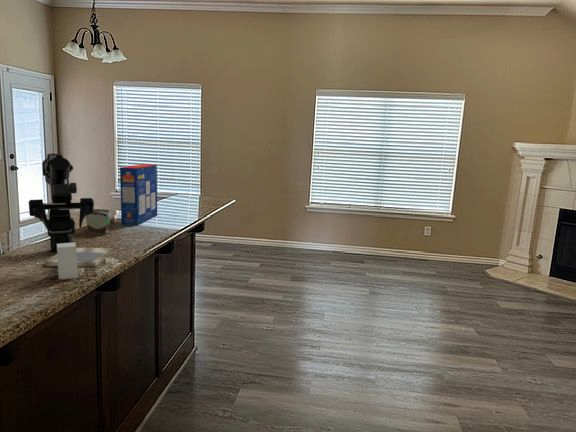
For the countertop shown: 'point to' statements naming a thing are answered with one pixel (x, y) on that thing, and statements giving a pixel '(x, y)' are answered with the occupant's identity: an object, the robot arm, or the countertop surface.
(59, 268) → the grey post
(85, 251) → the board
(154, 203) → the pasta box
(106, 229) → the food container
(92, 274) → the countertop surface
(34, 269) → the countertop surface
